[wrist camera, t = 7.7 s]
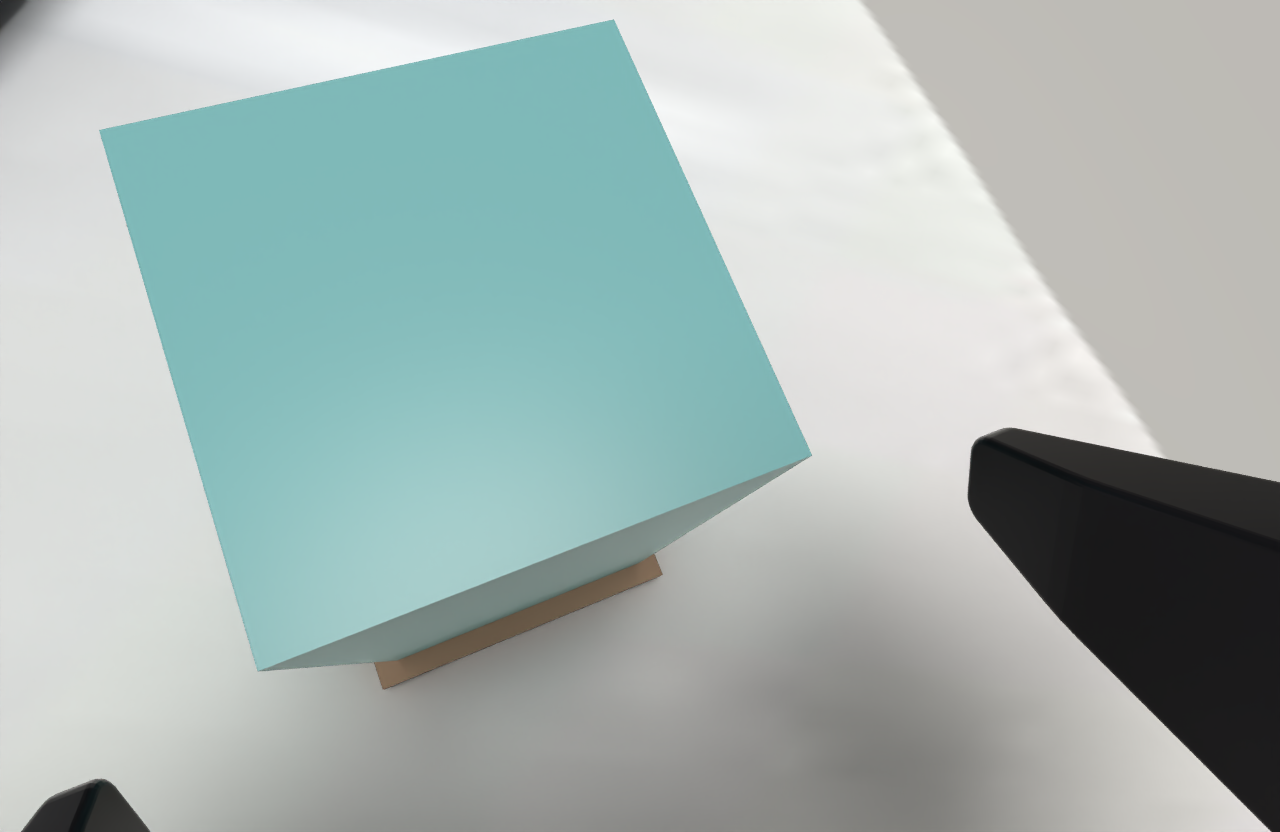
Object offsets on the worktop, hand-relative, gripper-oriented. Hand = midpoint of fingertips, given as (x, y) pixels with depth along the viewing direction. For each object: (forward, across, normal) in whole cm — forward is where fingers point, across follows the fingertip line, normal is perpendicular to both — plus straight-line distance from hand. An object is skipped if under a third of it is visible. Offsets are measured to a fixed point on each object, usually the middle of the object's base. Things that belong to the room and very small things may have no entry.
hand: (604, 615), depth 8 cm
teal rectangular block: (+9, 0, +4) cm, 10 cm away
